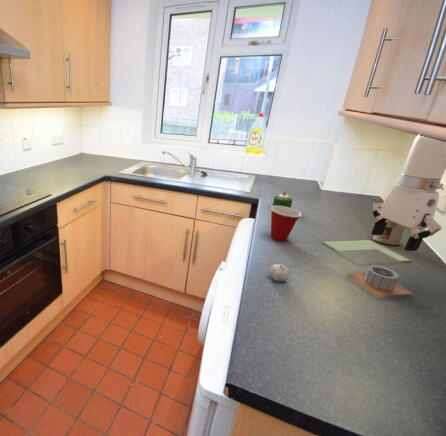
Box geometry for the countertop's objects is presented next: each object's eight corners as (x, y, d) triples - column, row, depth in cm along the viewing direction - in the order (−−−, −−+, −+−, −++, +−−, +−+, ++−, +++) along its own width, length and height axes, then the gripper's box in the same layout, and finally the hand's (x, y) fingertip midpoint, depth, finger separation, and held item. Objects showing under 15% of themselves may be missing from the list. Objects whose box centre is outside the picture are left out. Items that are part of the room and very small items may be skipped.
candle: (268, 207, 151) (273, 188, 147) (276, 204, 156) (281, 186, 152) (285, 212, 145) (290, 192, 141) (293, 209, 150) (298, 190, 146)
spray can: (366, 236, 121) (383, 189, 113) (386, 237, 120) (405, 189, 113) (382, 245, 113) (402, 195, 105) (404, 246, 112) (425, 196, 105)
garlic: (287, 286, 87) (291, 271, 85) (267, 281, 89) (270, 266, 87) (287, 276, 92) (291, 262, 90) (268, 271, 94) (272, 257, 92)
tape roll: (378, 276, 91) (382, 264, 90) (400, 289, 85) (405, 277, 84) (357, 277, 91) (361, 265, 89) (378, 290, 84) (383, 279, 83)
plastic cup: (295, 246, 111) (304, 216, 106) (264, 240, 115) (270, 211, 111) (293, 235, 120) (301, 207, 116) (264, 230, 124) (270, 203, 120)
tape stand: (377, 274, 94) (381, 262, 92) (412, 295, 84) (418, 282, 82) (345, 276, 93) (349, 264, 91) (378, 298, 82) (383, 284, 81)
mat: (368, 240, 117) (369, 239, 117) (410, 261, 102) (410, 260, 102) (322, 242, 114) (322, 241, 114) (357, 264, 100) (358, 262, 100)
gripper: (470, 192, 69) (438, 257, 75) (397, 174, 85) (376, 229, 91) (442, 192, 68) (412, 258, 74) (374, 174, 84) (354, 229, 90)
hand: (392, 242), depth 83 cm, fingers open, 9 cm apart
